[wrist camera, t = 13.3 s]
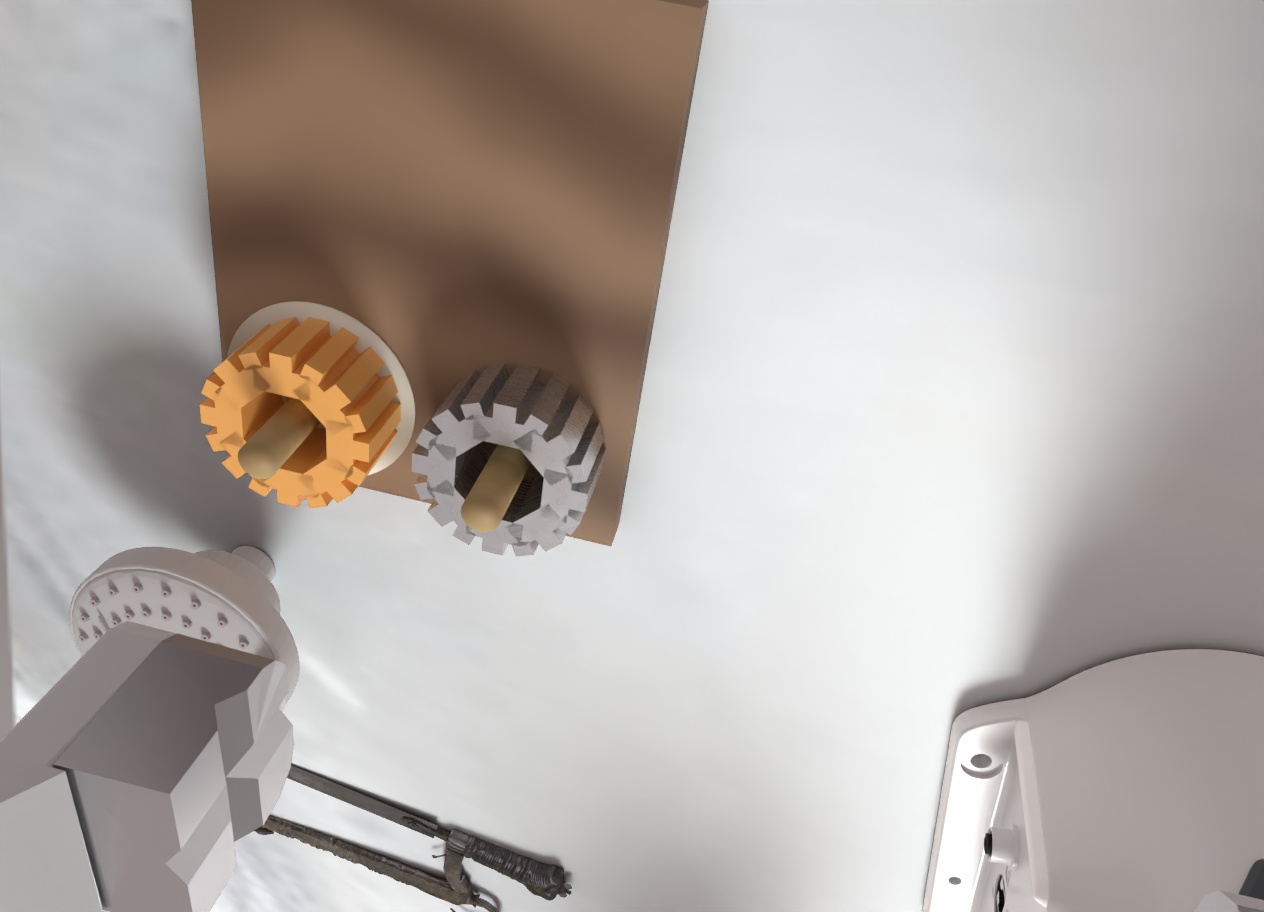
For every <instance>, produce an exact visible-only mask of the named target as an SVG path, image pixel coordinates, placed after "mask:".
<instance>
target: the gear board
mask: <svg viewBox="0 0 1264 912" xmlns="http://www.w3.org/2000/svg"><path fill="white" fill-rule="evenodd" d="M191 2H192V14H193V25H194V37H195V49H196V60H197V72H198V83H199V95H200V106H201V118H202V130H203V141H204V153H205V164H206V176H207V187H208V199H209V211H210V222H211V234H212V245H213V257H214V269H215V280H216V292H217V303H218V315H219V326H220V338H221V350H222V361H224V360H225V359H227V358H228V357H229V356H230V355H231V354H232V353H234V352H235V351H236V350H237V349H238V348H239V347H241V346H242V345H243V344H244V343H245V342H247V341H248V340H249V339H250V338H251V337H252V336H254V335H255V334H256V333H257V332H259V331H260V330H261V329H262V328H264V327H265V326H266V325H268V324H270V325H271V326H272V325H274V324H275V323H276V322H277V321H278V320H279V319H285V318H290V317H296V318H297V320H298V323H299V325H300V324H301V323H302V322H303V321H305V320H306V319H307V318H308V317H312V318H316V319H321V320H325V321H329V325H330V336H332V337H333V336H334V335H335V334H336V333H337V332H338V331H339V330H340V329H341V328H342V327H343V328H345V329H347V330H348V331H350V332H351V333H353V334H355V335H356V336H358V337H359V339H358V341H357V343H356V345H355V347H354V348H355V349H356V351H357V352H358V353H359V354H360V353H362V352H363V351H365V350H366V349H368V348H369V347H370V346H371V348H372V349H373V350H374V351H375V352H376V353H377V355H378V356H379V357H380V358H381V359H382V360H383V362H384V363H385V364H384V365H383V366H382V367H381V368H380V370H379V371H378V372H377V373H376V374H377V375H378V376H379V377H382V376H389V375H392V376H393V379H394V381H395V384H396V387H397V389H398V393H397V394H396V395H395V396H394V398H393V399H392V400H391V401H392V402H397V403H401V422H400V423H399V424H398V425H397V427H396V428H395V429H394V430H396V431H397V434H396V436H395V437H394V439H393V441H392V443H391V444H390V446H389V447H388V448H387V450H386V451H385V452H384V454H383V455H382V456H381V458H380V459H379V460H378V462H377V463H376V464H375V466H374V467H373V468H372V470H371V471H370V472H369V474H368V475H367V476H366V478H365V479H364V480H363V482H362V483H361V484H360V486H359V487H363V488H368V489H372V490H376V491H380V492H384V493H389V494H393V495H397V496H401V497H405V498H410V499H414V500H418V501H422V502H427V503H431V504H432V503H433V502H434V500H435V499H434V498H433V499H423V500H421V499H420V497H419V494H418V492H417V490H416V487H415V485H414V483H415V482H416V480H417V479H418V477H419V476H420V474H419V473H415V472H412V453H413V451H414V450H415V448H416V447H417V446H418V443H416V440H417V439H418V437H419V435H420V433H421V432H422V430H423V428H424V427H425V425H426V424H427V423H428V421H429V420H430V418H431V417H432V416H433V414H434V413H435V411H436V410H437V409H438V407H439V406H440V404H441V403H442V402H443V400H444V399H445V398H446V396H447V395H448V393H449V392H450V391H451V389H452V388H453V389H454V387H455V386H456V385H457V383H458V382H459V380H460V379H462V378H463V377H465V376H466V375H468V374H469V373H471V372H473V371H474V370H477V372H478V373H479V374H480V375H481V374H482V373H483V371H484V370H485V368H486V367H487V366H488V365H494V364H501V363H506V366H507V369H508V372H509V375H510V376H511V375H512V373H513V372H514V370H515V369H516V367H517V365H518V364H519V363H520V364H525V365H529V366H534V367H538V368H540V375H539V383H544V384H547V383H548V381H549V380H550V378H551V377H552V375H553V374H555V375H556V376H558V377H560V378H561V379H563V380H564V381H566V382H568V383H569V384H570V385H569V387H568V389H567V391H566V393H565V395H564V396H565V397H566V399H567V400H570V399H572V398H573V397H575V396H577V395H578V394H580V393H581V394H582V395H583V397H584V398H585V399H586V400H587V402H588V403H589V404H590V405H591V407H592V408H593V409H594V411H593V413H592V415H591V417H590V420H589V422H588V423H592V422H600V424H601V427H602V431H603V434H604V437H605V438H604V441H603V443H602V445H601V449H605V450H606V452H605V458H604V464H603V469H602V471H601V474H600V476H599V479H598V481H597V484H596V486H595V488H594V491H593V493H592V496H591V498H590V501H589V503H588V506H587V508H586V511H585V512H584V515H583V517H582V520H581V522H580V524H579V525H578V527H577V528H576V529H575V531H574V532H573V533H572V535H569V534H568V533H566V535H565V536H570V537H574V538H578V539H582V540H586V541H591V542H595V543H599V544H603V545H608V546H611V545H612V542H613V540H614V537H615V534H616V531H617V528H618V525H619V520H620V514H621V509H622V503H623V497H624V491H625V485H626V479H627V474H628V468H629V462H630V456H631V450H632V444H633V439H634V433H635V427H636V421H637V415H638V410H639V404H640V398H641V392H642V386H643V380H644V375H645V369H646V363H647V357H648V351H649V346H650V340H651V334H652V328H653V322H654V316H655V311H656V305H657V299H658V293H659V287H660V282H661V276H662V270H663V264H664V258H665V252H666V247H667V241H668V235H669V229H670V223H671V218H672V212H673V206H674V200H675V194H676V188H677V183H678V177H679V171H680V165H681V159H682V153H683V148H684V142H685V136H686V130H687V124H688V119H689V113H690V107H691V101H692V95H693V89H694V84H695V78H696V72H697V66H698V60H699V55H700V49H701V43H702V37H703V31H704V25H705V20H706V14H707V8H708V2H709V1H708V0H191ZM282 400H283V401H284V402H285V404H284V405H283V406H282V407H281V408H280V409H279V410H278V411H277V412H276V413H275V414H274V415H273V416H272V417H271V418H270V419H269V420H268V421H267V422H266V423H265V424H264V425H263V426H262V427H261V428H260V429H259V430H258V431H257V432H256V433H255V434H254V435H253V436H252V437H251V438H250V439H249V440H248V441H247V442H246V443H245V444H244V445H243V446H242V447H241V448H240V450H239V452H238V461H239V464H240V465H241V467H242V468H243V470H244V471H245V472H246V473H248V474H249V475H251V476H253V477H255V478H258V479H268V478H270V477H272V476H273V475H274V474H275V473H276V472H277V470H278V469H279V468H280V467H281V466H282V465H283V464H284V463H285V461H286V460H287V459H288V458H289V457H290V456H291V455H292V454H293V452H294V451H295V450H296V449H297V448H298V447H299V446H300V445H301V444H302V442H303V441H304V440H305V439H306V438H307V437H308V436H309V435H310V433H311V432H312V431H313V430H314V429H315V428H319V429H323V430H326V427H325V426H324V425H323V424H322V423H321V422H320V421H319V420H318V419H317V418H316V416H315V415H314V414H313V413H312V412H311V411H310V410H309V409H308V408H307V407H306V405H305V404H304V403H303V402H302V401H301V400H300V399H296V398H291V397H287V396H283V395H282ZM480 445H481V446H482V447H483V448H484V450H485V451H486V452H487V453H488V454H489V455H490V458H489V460H488V462H487V463H486V465H485V467H484V469H483V470H482V472H481V474H480V475H479V477H478V479H477V481H476V482H475V484H474V486H473V487H472V489H471V491H470V493H469V494H468V496H467V498H466V499H465V501H464V503H463V505H462V507H461V516H462V518H463V520H464V522H465V523H466V524H467V525H468V526H469V527H471V528H472V529H474V530H477V531H480V532H490V531H493V530H494V529H496V528H497V527H498V526H499V524H500V522H501V520H502V518H503V516H504V514H505V512H506V510H507V508H508V507H509V505H510V503H511V501H512V499H513V497H514V495H515V493H516V491H517V489H518V487H519V485H520V483H521V481H522V479H523V477H524V476H529V477H533V478H536V477H538V476H540V475H541V474H540V472H539V471H538V470H537V469H536V468H535V466H534V465H533V464H532V463H531V462H530V461H529V459H528V458H527V457H526V456H525V455H524V453H523V452H522V451H521V450H520V449H516V448H512V447H508V446H503V445H499V444H495V443H490V442H486V441H482V442H480Z"/></svg>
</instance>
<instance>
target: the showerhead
mask: <svg viewBox="0 0 1264 912" xmlns="http://www.w3.org/2000/svg"><path fill="white" fill-rule="evenodd" d="M274 575H275V567H274V564H273V562H272V560H271V559H270V558H269V557H268V556H267V555H266V554H265V553H264V552H262V551H261V550H259V549H257V548H254V547H251V546H240V547H237V548H236V549H234V550H233V551H232V552H231V553H228V552H225V551H218V550H206V551H200V552H196V553H194V554H193V553H190V552H186V551H182V550H177V549H172V548H163V547H142V548H134V549H130V550H126V551H124V552H121V553H118V554H116V555H114V556H113V557H111V558H109V559H108V560H107V561H105V562H104V563H103V564H102V565H101V566H100V567H99V568H98V569H96V570H95V571H94V572H93V573H92V574H91V575H90V576H89V577H88V578H87V579H85V580H84V581H83V582H82V583H81V584H80V586H79V587H78V589H77V590H76V592H75V594H74V596H73V599H72V602H71V606H70V627H71V632H72V636H73V639H74V642H75V644H76V647H77V649H78V651H79V653H80V655H81V656H83V655H84V654H85V653H86V652H87V651H88V650H89V649H90V648H91V647H92V646H93V645H94V644H95V643H96V642H97V641H98V640H99V639H100V638H101V637H102V636H103V635H104V634H105V633H106V632H107V631H108V630H109V629H111V628H113V627H115V626H117V625H119V624H121V623H124V622H126V621H131V622H134V623H138V624H142V625H146V626H150V627H153V628H157V629H161V630H165V631H169V632H172V633H176V634H177V633H178V634H182V635H185V636H189V637H193V638H196V639H200V640H204V641H207V642H211V643H214V644H218V645H222V646H225V647H229V648H233V649H236V650H240V651H244V652H247V653H251V654H255V655H258V656H262V657H266V658H269V659H273V660H276V661H279V662H281V663H283V664H286V668H287V676H288V683H289V690H290V691H289V692H288V694H287V695H286V697H285V698H284V700H283V701H282V703H281V704H280V706H279V707H278V708H279V709H280V710H281V711H282V710H283V708H284V706H285V705H286V703H287V701H288V700H289V698H290V696H291V695H292V693H293V691H294V689H295V687H296V684H297V681H298V677H299V656H298V651H297V648H296V645H295V642H294V639H293V636H292V634H291V632H290V630H289V628H288V627H287V625H286V623H285V621H284V620H283V619H282V617H281V616H280V600H279V597H278V594H277V592H276V590H275V588H274V586H273V584H272V583H271V580H272V579H273V577H274Z"/></svg>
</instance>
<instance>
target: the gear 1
mask: <svg viewBox="0 0 1264 912" xmlns="http://www.w3.org/2000/svg"><path fill="white" fill-rule="evenodd" d="M358 339H359V337H358V336H356V335H355V334H353V333H351V332H350V331H348V330H347V329H345V328H343V327H342V328H341V329H340V330H339V331H338V332H337V333H336V334H335V335H334V336H333V337H332V336H330V325H329V321H325V320H321V319H316V318H312V317H308V318H307V319H306V320H305V321H303V322H302V323H301V324H300V325H299V323H298V320H297V318H296V317H290V318H285V319H279V320H278V321H277V322H276V323H275V324H274V325H272V326H271V325H270V324H268V325H266V326H265V327H264V328H262V329H261V330H260V331H259V332H257V333H256V334H255V335H254V336H252V337H251V338H250V339H249V340H248V341H247V342H245V343H244V344H243V345H242V346H241V347H239V348H238V349H237V350H236V351H235V352H234V353H232V354H231V355H230V356H229V357H228V358H227V359H225V360H224V361H223V362H222V363H221V364H220V365H218V366H217V367H216V368H215V369H214V370H213V371H214V373H213V374H212V375H211V376H210V377H209V378H207V379H206V382H205V385H204V387H203V390H202V392H201V393H202V394H203V395H205V396H207V398H206V399H205V400H204V401H203V402H202V403H201V404H199V405H200V415H201V423H202V424H206V425H211V426H215V427H214V428H213V429H212V430H211V431H210V432H209V433H208V434H206V435H205V436H206V438H207V440H208V442H209V444H210V446H211V448H212V449H213V451H214V452H216V451H223V450H226V451H227V452H228V453H229V454H230V455H229V456H228V457H227V458H226V459H225V460H224V461H223V462H222V464H223V465H224V466H225V467H226V468H227V469H228V470H229V471H230V472H231V473H232V474H233V475H234V476H235V477H236V478H237V479H238V478H239V477H240V476H242V475H243V474H245V473H246V472H245V471H244V470H243V468H242V467H241V465H240V464H239V461H238V452H239V450H240V448H241V447H242V446H243V445H244V444H245V443H246V442H247V441H248V440H249V439H250V438H251V437H252V436H253V435H254V434H255V433H256V432H257V431H258V430H259V429H260V428H261V427H262V426H263V425H264V424H265V423H266V422H267V421H268V420H269V419H270V418H271V417H272V416H273V415H274V414H275V413H276V412H277V411H278V410H279V409H280V408H281V407H282V406H283V405H284V404H285V402H284V401H283V400H282V395H283V396H287V397H291V398H296V399H300V400H301V401H302V402H303V403H304V404H305V405H306V407H307V408H308V409H309V410H310V411H311V412H312V413H313V414H314V415H315V416H316V418H317V419H318V420H319V421H320V422H321V423H322V424H323V425H324V426H325V427H326V430H323V429H319V428H315V429H314V430H313V431H312V432H311V433H310V435H309V436H308V437H307V438H306V439H305V440H304V441H303V442H302V444H301V445H300V446H299V447H298V448H297V449H296V450H295V451H294V452H293V454H292V455H291V456H290V457H289V458H288V459H287V460H286V461H285V463H284V464H283V465H282V466H281V467H280V468H279V469H278V470H277V472H276V473H275V474H274V475H273V476H272V477H270V478H268V479H258V478H255V477H253V476H251V475H250V476H251V477H252V481H251V483H250V485H249V487H248V488H250V489H252V490H254V491H255V492H257V493H259V494H260V495H262V496H264V497H265V496H266V495H267V494H268V493H269V492H270V491H271V490H272V489H277V499H278V503H282V504H286V505H290V506H294V507H298V506H299V505H300V504H301V503H302V502H303V500H304V499H305V498H306V500H307V502H308V504H309V506H310V508H315V507H324V506H327V505H328V504H329V503H330V501H331V500H332V499H334V500H335V501H336V502H337V503H338V502H340V501H341V500H343V499H345V498H346V497H348V496H350V495H351V494H352V493H353V492H354V491H355V489H356V488H357V487H358V486H360V484H361V483H362V482H363V480H364V479H365V478H366V476H367V475H368V474H369V472H370V471H371V470H372V468H373V467H374V466H375V464H376V463H377V462H378V460H379V459H380V458H381V456H382V455H383V454H384V452H385V451H386V450H387V448H388V447H389V446H390V444H391V443H392V441H393V439H394V437H395V436H396V434H397V431H396V430H394V429H395V428H396V427H397V425H398V424H399V423H400V422H401V403H397V402H392V401H391V400H392V399H393V398H394V396H395V395H396V394H397V393H398V389H397V387H396V384H395V381H394V379H393V376H392V375H389V376H382V377H379V376H378V375H377V374H376V373H377V372H378V371H379V370H380V368H381V367H382V366H383V365H384V364H385V363H384V362H383V360H382V359H381V358H380V357H379V356H378V355H377V353H376V352H375V351H374V350H373V349H372V348H371V346H370V347H369V348H368V349H366V350H365V351H363V352H362V353H360V354H359V353H358V352H357V351H356V349H355V348H354V347H355V345H356V343H357V341H358Z"/></svg>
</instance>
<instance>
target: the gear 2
mask: <svg viewBox="0 0 1264 912" xmlns="http://www.w3.org/2000/svg"><path fill="white" fill-rule="evenodd" d="M539 375H540V368H538V367H534V366H529V365H525V364H520V363H519V364H518V365H517V367H516V369H515V370H514V372H513V373H512V375H511V376H510V375H509V372H508V369H507V366H506V363H501V364H494V365H488V366H487V367H486V368H485V370H484V371H483V373H482V374H481V375H480V374H479V373H478V372H477V370H474V371H473V372H471V373H469V374H468V375H466V376H465V377H463V378H462V379H460V380H459V382H458V383H457V385H456V386H455V387H454V389H453V388H452V389H451V391H450V392H449V393H448V395H447V396H446V398H445V399H444V400H443V402H442V403H441V404H440V406H439V407H438V409H437V410H436V411H435V413H434V414H433V416H432V417H431V418H430V420H429V421H428V423H427V424H426V425H425V427H424V428H423V430H422V432H421V433H420V435H419V437H418V439H417V440H416V443H418V446H417V447H416V448H415V450H414V451H413V453H412V472H415V473H419V474H420V476H419V477H418V479H417V480H416V482H415V483H414V485H415V487H416V490H417V492H418V494H419V497H420V499H421V500H423V499H433V498H434V499H435V500H434V502H433V503H432V505H431V506H430V508H429V509H428V512H429V513H430V514H431V515H432V516H433V518H434V519H435V520H436V521H437V522H438V523H439V524H440V525H441V526H444V525H446V524H447V523H449V522H451V521H453V520H454V522H455V523H456V524H457V525H458V527H457V528H456V530H455V532H454V534H453V536H455V537H456V538H458V539H460V540H461V541H463V542H465V543H467V544H468V545H469V544H470V543H471V541H472V540H473V538H474V537H475V536H478V537H482V538H483V542H482V551H487V552H491V553H495V554H499V555H503V554H504V551H505V549H506V547H507V545H508V544H511V545H512V547H513V550H514V552H515V555H516V556H524V555H534V552H535V550H536V548H537V546H538V543H539V545H540V546H541V547H542V548H543V549H544V550H545V551H548V550H550V549H552V548H553V547H555V546H557V545H559V544H561V543H562V542H563V540H564V537H565V535H566V533H568V534H569V535H572V533H573V532H574V531H575V529H576V528H577V527H578V525H579V524H580V522H581V520H582V517H583V515H584V512H585V511H586V508H587V506H588V503H589V501H590V498H591V496H592V493H593V491H594V488H595V486H596V484H597V481H598V479H599V476H600V474H601V471H602V469H603V464H604V458H605V452H606V450H605V449H601V445H602V443H603V441H604V438H605V437H604V434H603V431H602V427H601V424H600V422H592V423H588V422H589V420H590V417H591V415H592V413H593V411H594V409H593V408H592V407H591V405H590V404H589V403H588V402H587V400H586V399H585V398H584V397H583V395H582V394H581V393H580V394H578V395H577V396H575V397H573V398H572V399H570V400H567V399H566V397H565V396H564V395H565V393H566V391H567V389H568V387H569V385H570V384H569V383H568V382H566V381H564V380H563V379H561V378H560V377H558V376H556V375H555V374H553V375H552V377H551V378H550V380H549V381H548V383H547V384H544V383H539ZM482 441H486V442H490V443H495V444H499V445H503V446H508V447H512V448H516V449H520V450H521V451H522V452H523V453H524V455H525V456H526V457H527V458H528V459H529V461H530V462H531V463H532V464H533V465H534V466H535V468H536V469H537V470H538V471H539V472H540V474H541V475H540V476H538V477H536V478H533V477H529V476H524V477H523V479H522V481H521V483H520V485H519V487H518V489H517V491H516V493H515V495H514V497H513V499H512V501H511V503H510V505H509V507H508V508H507V510H506V512H505V514H504V516H503V518H502V520H501V522H500V524H499V526H498V527H497V528H496V529H494V530H493V531H490V532H480V531H477V530H474V529H472V528H471V527H469V526H468V525H467V524H466V523H465V522H464V520H463V518H462V516H461V507H462V505H463V503H464V501H465V499H466V498H467V496H468V494H469V493H470V491H471V489H472V487H473V486H474V484H475V482H476V481H477V479H478V477H479V475H480V474H481V472H482V470H483V469H484V467H485V465H486V463H487V462H488V460H489V458H490V455H489V454H488V453H487V452H486V451H485V450H484V448H483V447H482V446H481V445H480V442H482Z"/></svg>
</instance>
